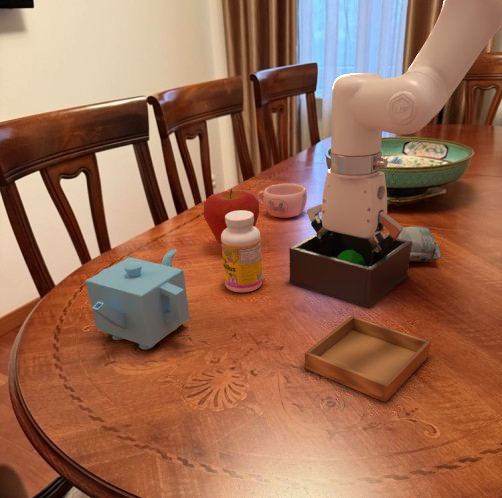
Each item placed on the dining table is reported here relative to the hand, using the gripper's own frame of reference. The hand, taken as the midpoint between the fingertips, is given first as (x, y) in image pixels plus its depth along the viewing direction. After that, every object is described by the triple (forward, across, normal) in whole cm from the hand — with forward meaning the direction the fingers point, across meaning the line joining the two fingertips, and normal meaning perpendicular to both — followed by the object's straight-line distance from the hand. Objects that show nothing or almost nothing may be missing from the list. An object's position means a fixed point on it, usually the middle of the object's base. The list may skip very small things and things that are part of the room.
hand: (350, 264), depth 89 cm
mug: (+3, +31, -21) cm, 38 cm away
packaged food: (+3, -4, -15) cm, 16 cm away
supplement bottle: (+3, +14, +12) cm, 19 cm away
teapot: (+3, +16, +32) cm, 36 cm away
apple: (+3, +27, 0) cm, 27 cm away
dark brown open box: (+3, 0, 0) cm, 3 cm away
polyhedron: (+3, 0, 0) cm, 3 cm away
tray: (+3, -15, +20) cm, 25 cm away
